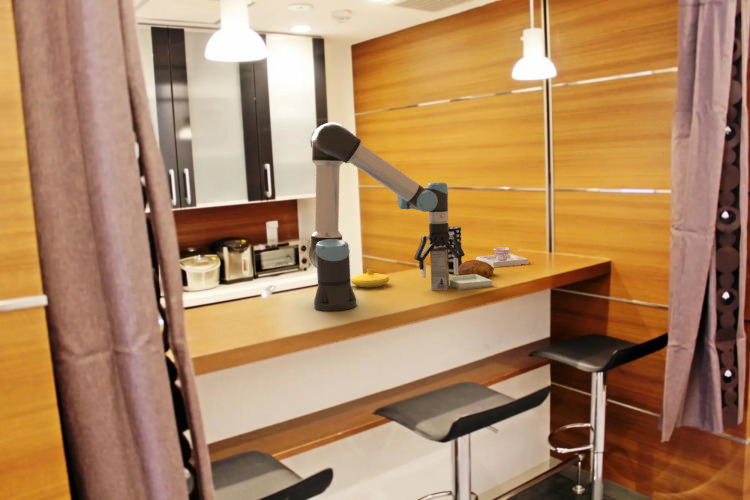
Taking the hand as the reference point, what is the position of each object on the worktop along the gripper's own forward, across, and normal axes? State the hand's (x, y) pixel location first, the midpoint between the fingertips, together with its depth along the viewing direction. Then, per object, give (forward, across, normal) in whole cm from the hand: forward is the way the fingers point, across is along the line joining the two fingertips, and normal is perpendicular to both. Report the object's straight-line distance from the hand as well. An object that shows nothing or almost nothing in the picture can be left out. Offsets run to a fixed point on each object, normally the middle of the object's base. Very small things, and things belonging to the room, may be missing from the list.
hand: (440, 276), depth 244 cm
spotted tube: (+5, +17, +28) cm, 33 cm away
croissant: (+5, +23, +16) cm, 29 cm away
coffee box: (+5, 0, 0) cm, 5 cm away
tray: (+5, +12, 0) cm, 13 cm away
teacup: (+4, +47, +39) cm, 62 cm away
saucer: (+5, +47, +39) cm, 61 cm away
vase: (+5, -24, +17) cm, 30 cm away
